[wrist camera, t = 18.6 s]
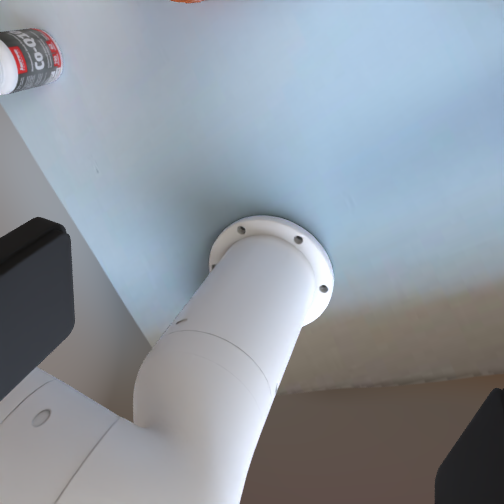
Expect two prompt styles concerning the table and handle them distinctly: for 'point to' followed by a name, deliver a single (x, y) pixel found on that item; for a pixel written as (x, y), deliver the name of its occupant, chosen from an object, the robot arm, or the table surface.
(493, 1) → the table surface
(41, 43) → the pill bottle
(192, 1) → the thermos lid
